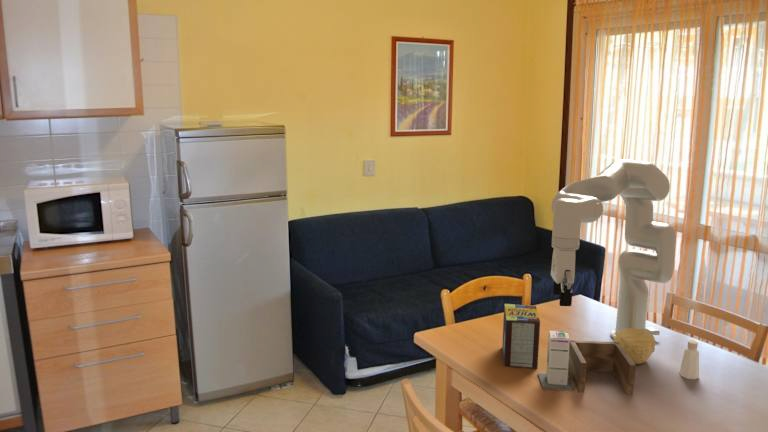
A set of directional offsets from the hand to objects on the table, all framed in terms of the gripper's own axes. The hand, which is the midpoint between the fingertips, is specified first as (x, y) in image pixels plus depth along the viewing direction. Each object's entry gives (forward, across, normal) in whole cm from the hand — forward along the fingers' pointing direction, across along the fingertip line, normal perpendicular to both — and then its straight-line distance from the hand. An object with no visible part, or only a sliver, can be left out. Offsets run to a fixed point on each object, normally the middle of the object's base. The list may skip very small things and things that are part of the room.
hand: (561, 300), depth 177 cm
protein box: (+26, -17, -9) cm, 32 cm away
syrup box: (+25, 0, 0) cm, 25 cm away
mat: (+26, 0, 0) cm, 26 cm away
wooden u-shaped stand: (+26, -2, +13) cm, 29 cm away
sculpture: (+26, -19, +27) cm, 42 cm away
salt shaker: (+26, -9, +41) cm, 50 cm away
